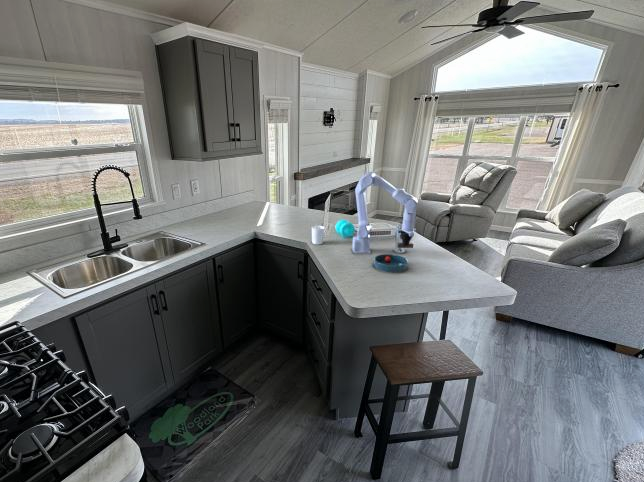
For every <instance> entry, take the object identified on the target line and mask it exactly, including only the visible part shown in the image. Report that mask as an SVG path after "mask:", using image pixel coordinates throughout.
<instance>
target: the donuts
mask: <svg viewBox="0 0 644 482" xmlns="http://www.w3.org/2000/svg"><path fill="white" fill-rule="evenodd" d="M335 231H336V233H337V234H339V235H341V237H343V238H350V237H352V236H353V235H354V233H355V231H356V230H355V225H354V224H353V223H352V222H350V221H349V220H347V219H340V220H338V221H337V223H336V224H335Z"/></svg>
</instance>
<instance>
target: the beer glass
mask: <svg viewBox="0 0 644 482" xmlns="http://www.w3.org/2000/svg"><path fill="white" fill-rule="evenodd" d="M402 225H403V223H400V224H397V225H396V228H395V235H394V237H395V238H394V239H395V246H394V249H393V252H395V253H399V254H401V253H402V254H403V253H406V248H398V247H397V244H398V243H402V235H401V232H400V231H402V230H401V229H402Z"/></svg>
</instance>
